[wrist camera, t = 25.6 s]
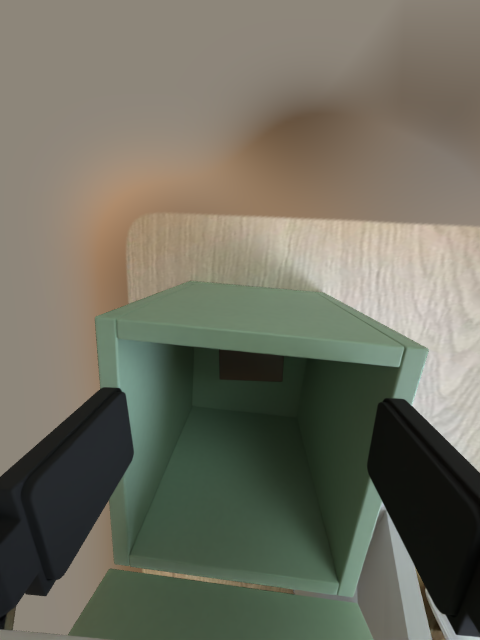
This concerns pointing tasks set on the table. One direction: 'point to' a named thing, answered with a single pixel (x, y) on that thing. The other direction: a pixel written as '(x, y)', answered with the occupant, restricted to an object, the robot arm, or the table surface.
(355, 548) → the box
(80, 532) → the robot arm
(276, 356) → the block
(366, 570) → the phone holder
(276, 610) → the green box lid
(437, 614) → the photo printer
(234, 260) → the table surface
